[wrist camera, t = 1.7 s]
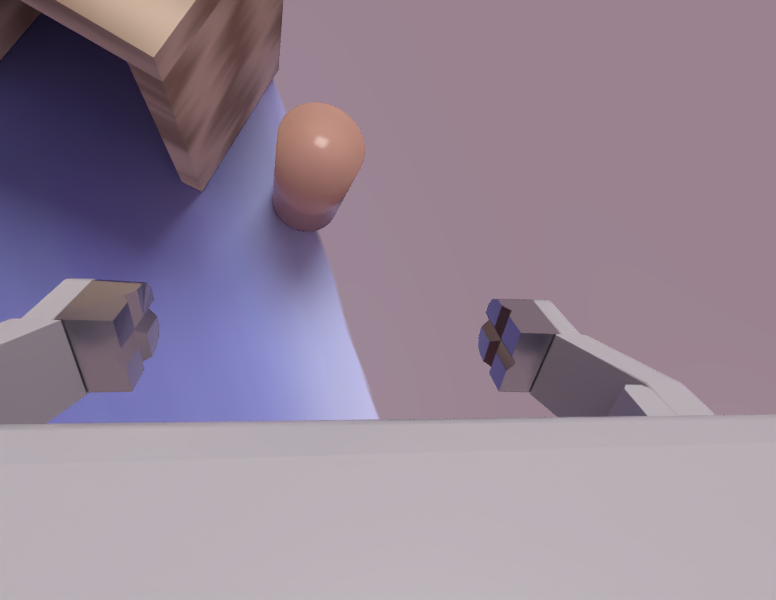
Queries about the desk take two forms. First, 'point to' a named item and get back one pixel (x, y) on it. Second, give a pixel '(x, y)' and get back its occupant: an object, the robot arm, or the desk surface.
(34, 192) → the desk surface
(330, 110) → the peach rounded capsule
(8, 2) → the wooden shelf
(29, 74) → the desk surface
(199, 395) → the desk surface
